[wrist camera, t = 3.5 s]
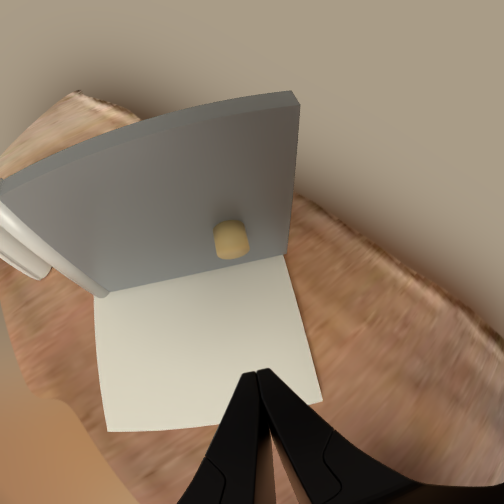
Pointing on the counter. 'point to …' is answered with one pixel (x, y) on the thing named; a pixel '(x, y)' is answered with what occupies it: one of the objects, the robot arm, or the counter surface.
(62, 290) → the counter surface
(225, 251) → the door
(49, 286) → the counter surface
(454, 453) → the counter surface
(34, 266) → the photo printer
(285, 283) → the board
